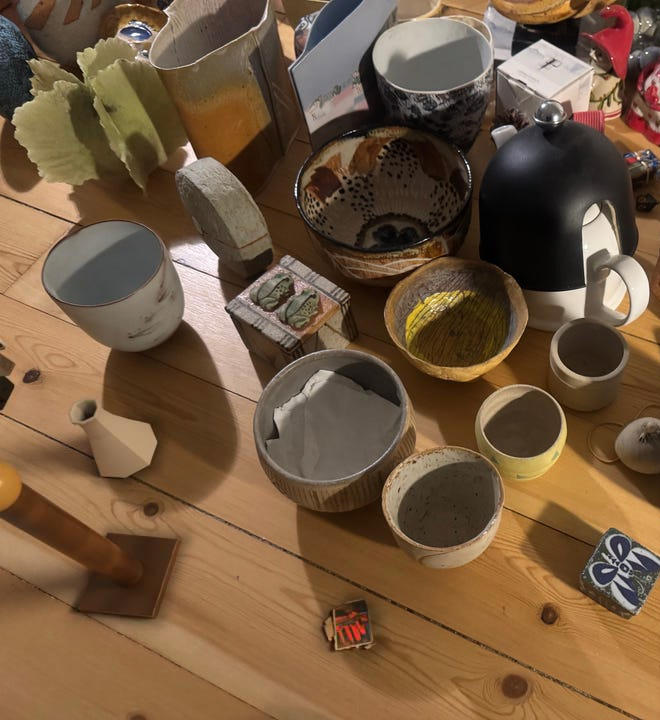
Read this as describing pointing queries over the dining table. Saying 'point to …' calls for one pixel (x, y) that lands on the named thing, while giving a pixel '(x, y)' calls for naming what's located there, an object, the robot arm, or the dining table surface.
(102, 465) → the flask
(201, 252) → the dining table surface
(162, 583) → the post
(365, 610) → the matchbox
